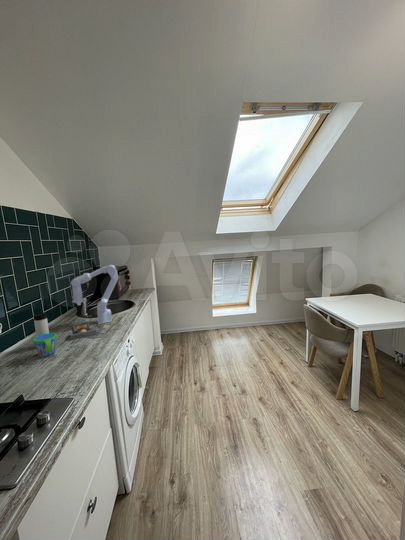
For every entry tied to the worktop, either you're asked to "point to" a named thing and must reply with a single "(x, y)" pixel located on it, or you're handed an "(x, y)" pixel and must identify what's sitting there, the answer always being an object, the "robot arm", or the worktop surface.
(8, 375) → the worktop surface
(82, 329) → the brown square block
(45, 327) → the travel mug
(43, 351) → the snack cup
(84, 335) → the tray
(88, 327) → the rails
